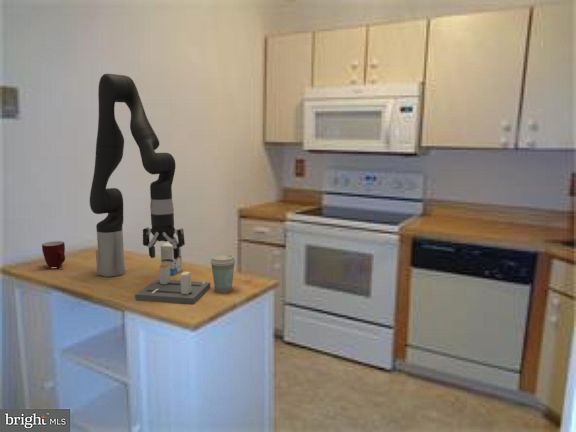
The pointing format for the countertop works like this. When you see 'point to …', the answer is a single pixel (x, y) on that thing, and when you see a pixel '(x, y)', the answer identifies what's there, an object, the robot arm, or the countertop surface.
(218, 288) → the coffee cup
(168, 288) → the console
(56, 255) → the mug
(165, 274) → the fader
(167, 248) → the ink box
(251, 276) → the countertop surface
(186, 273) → the fader
